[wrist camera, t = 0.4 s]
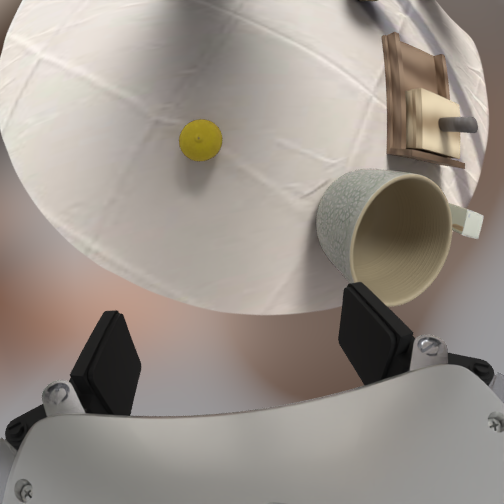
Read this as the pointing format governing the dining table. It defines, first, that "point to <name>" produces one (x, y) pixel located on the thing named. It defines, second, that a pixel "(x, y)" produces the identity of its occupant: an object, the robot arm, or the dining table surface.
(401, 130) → the bay
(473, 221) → the skincare box
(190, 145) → the lemon
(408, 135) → the drawer front with knob
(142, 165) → the dining table surface
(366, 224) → the planter
